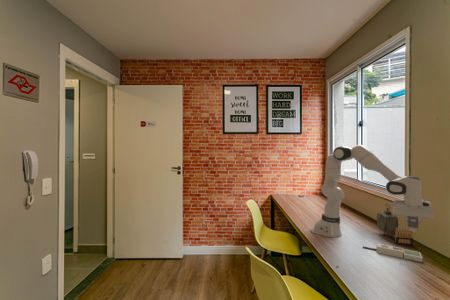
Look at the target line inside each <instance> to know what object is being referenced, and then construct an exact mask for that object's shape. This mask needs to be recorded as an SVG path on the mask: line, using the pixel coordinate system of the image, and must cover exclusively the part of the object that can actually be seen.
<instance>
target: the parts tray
mask: <svg viewBox="0 0 450 300" xmlns="http://www.w3.org/2000/svg"><path fill="white" fill-rule="evenodd" d="M402 250H403V259H406V260H410V261H413V262H414V261H415V262H419V263H423V259H424V258H423V255H422V253H421V251H416V250H412V249H406V248H402Z"/></svg>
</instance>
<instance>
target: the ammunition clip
mask: <svg viewBox="0 0 450 300" xmlns="http://www.w3.org/2000/svg"><path fill="white" fill-rule="evenodd" d="M394 234H395V236H394V237H395V239H394V244H396V245H402V246H403V245H404V246H411V245H412V247H414V240H413V239H414V238H413V231H410V227H408V228H406V227H405V228H403V227H398V228H396V233H394Z"/></svg>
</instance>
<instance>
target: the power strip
mask: <svg viewBox="0 0 450 300" xmlns="http://www.w3.org/2000/svg"><path fill="white" fill-rule="evenodd" d="M375 247H376V248H373V247H369V246H364V245H363V246H362V249H367V250H371V251H376V253H378V254H382V255H383V254H384V255H387V256H392V257H398V258H401V259H404V257H403V250H402V249H403V247H400V246H398V247H397V246H393V245H389V244H383V243H378V242H376V246H375Z"/></svg>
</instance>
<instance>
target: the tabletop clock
mask: <svg viewBox="0 0 450 300" xmlns="http://www.w3.org/2000/svg"><path fill="white" fill-rule="evenodd" d="M387 206H388V207H387ZM376 226H377V229H379V230H380V231H381V232H383V233H382V235H383V236H386V234H391V236H392V239H394V240H395V236H394V234H395V233H396V228H398V229H399V217H398V215H396V214H394V213H393V212H392V211H391V206H390V204H388V203H386V204H385V209H384V210H383V211H379V212H377V214H376Z"/></svg>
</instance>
